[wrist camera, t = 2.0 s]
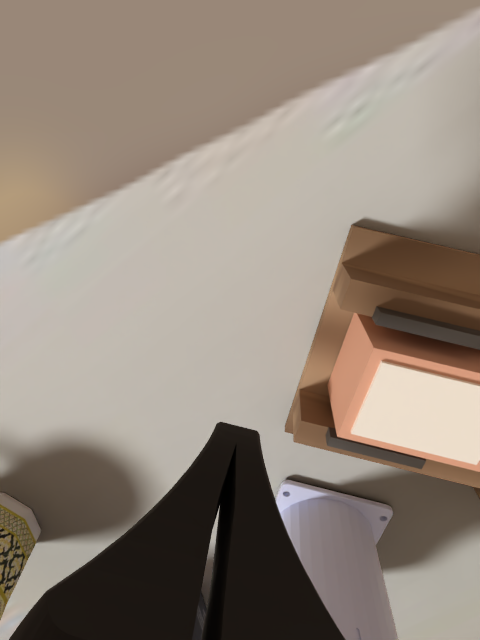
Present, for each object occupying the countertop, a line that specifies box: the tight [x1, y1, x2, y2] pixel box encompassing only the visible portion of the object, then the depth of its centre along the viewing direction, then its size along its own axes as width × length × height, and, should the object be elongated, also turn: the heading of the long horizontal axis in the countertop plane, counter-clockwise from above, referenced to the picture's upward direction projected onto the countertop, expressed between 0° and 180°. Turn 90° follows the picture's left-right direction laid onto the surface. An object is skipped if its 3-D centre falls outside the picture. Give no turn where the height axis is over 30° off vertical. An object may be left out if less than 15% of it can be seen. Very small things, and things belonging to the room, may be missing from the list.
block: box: [327, 313, 480, 472], centre depth 18 cm, size 5×7×5 cm
